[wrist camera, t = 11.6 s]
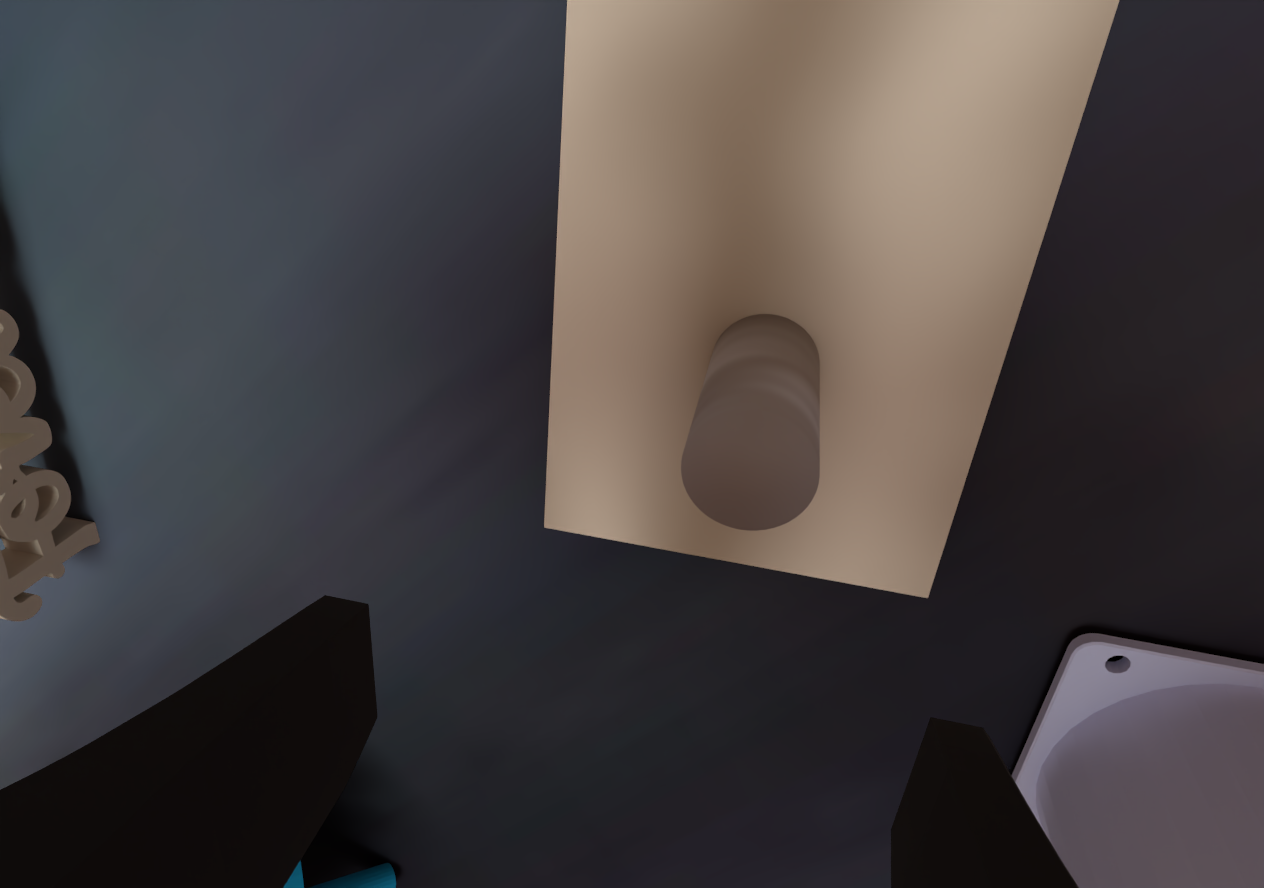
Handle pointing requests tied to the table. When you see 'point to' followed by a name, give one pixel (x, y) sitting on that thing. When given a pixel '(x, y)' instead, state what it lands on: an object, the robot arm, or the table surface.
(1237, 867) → the robot arm
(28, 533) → the decorative sign
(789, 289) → the board
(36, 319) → the table surface
